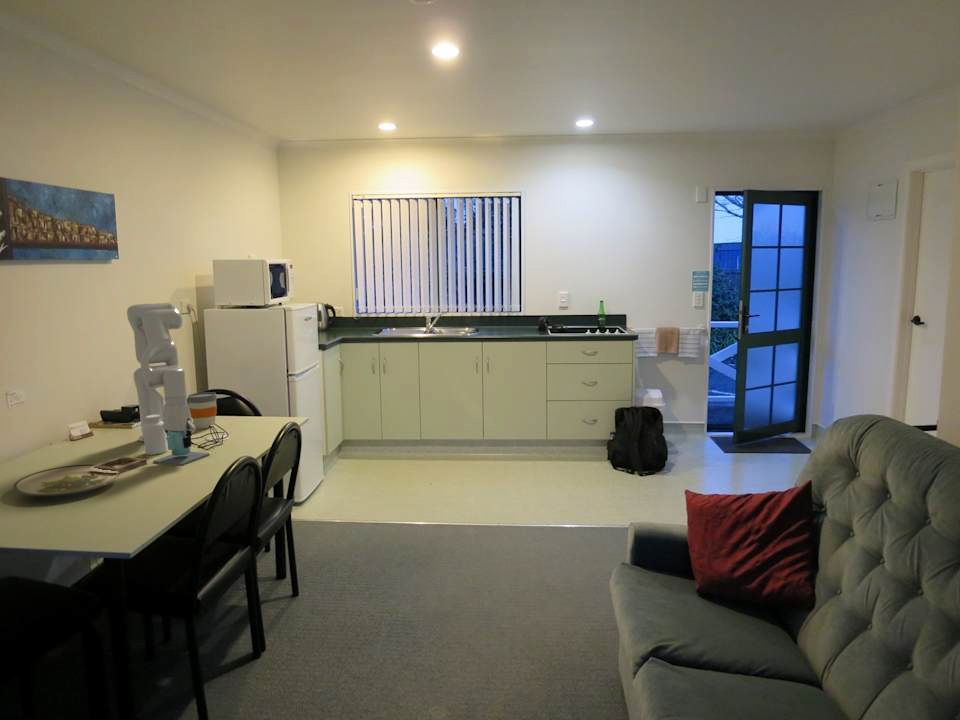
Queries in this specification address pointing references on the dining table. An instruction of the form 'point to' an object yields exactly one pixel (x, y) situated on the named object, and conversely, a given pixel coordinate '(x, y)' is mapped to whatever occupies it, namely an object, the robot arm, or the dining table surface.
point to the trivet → (181, 458)
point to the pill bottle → (154, 435)
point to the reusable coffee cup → (203, 408)
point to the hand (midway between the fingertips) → (180, 446)
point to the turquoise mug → (177, 443)
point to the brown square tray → (129, 462)
